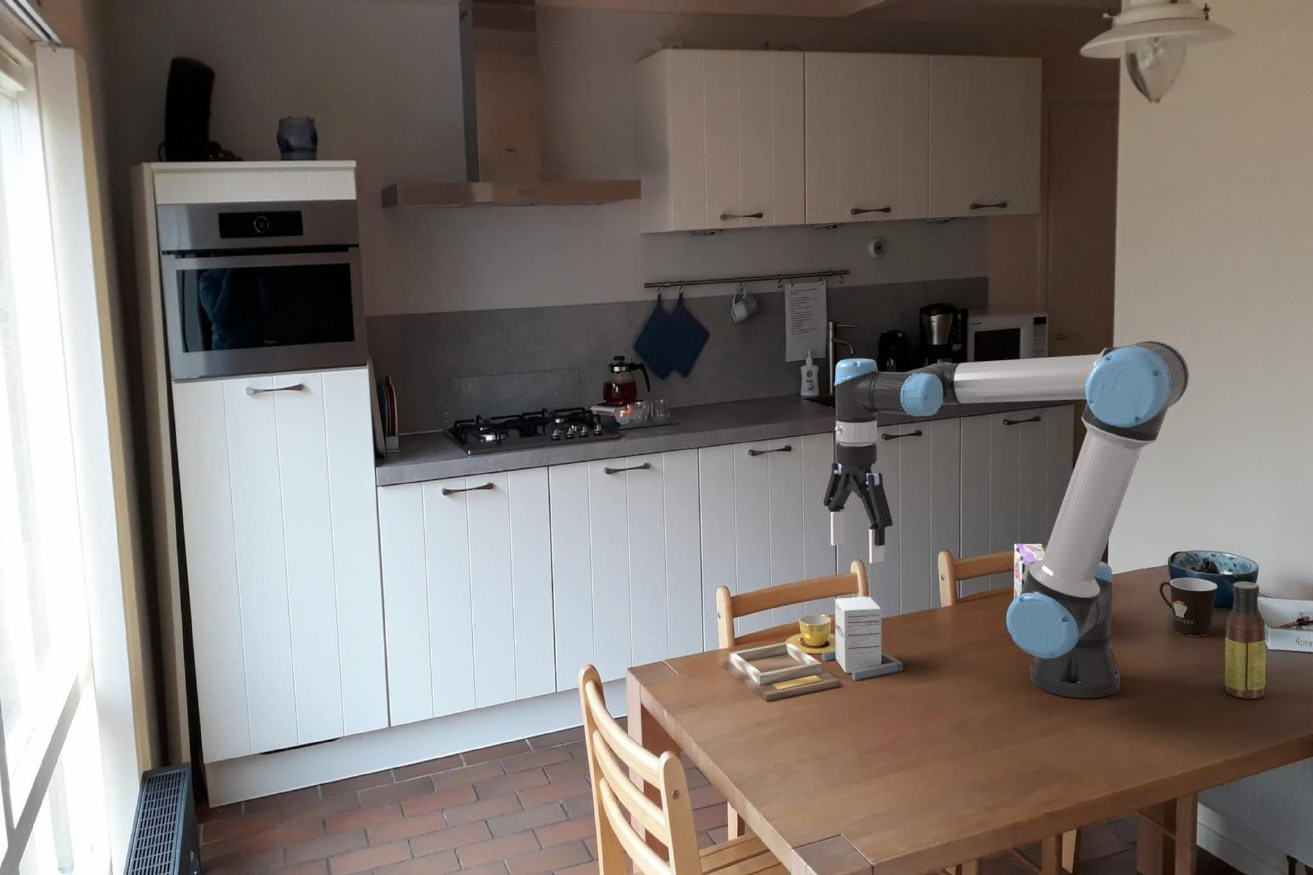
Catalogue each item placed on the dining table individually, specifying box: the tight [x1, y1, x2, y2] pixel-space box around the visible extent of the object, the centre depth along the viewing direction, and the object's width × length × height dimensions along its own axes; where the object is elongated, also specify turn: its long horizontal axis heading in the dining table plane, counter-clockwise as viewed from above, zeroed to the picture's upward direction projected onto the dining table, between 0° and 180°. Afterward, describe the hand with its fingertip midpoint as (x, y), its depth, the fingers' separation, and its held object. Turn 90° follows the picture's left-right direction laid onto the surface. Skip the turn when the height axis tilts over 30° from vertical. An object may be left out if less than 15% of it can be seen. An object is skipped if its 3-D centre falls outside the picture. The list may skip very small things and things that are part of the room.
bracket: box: [821, 649, 904, 681], centre depth 217 cm, size 12×10×2 cm
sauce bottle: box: [1224, 580, 1266, 700], centre depth 196 cm, size 7×6×20 cm
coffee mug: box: [1158, 577, 1218, 636], centre depth 229 cm, size 12×9×10 cm
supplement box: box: [834, 596, 883, 674], centre depth 216 cm, size 7×7×13 cm
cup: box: [785, 613, 836, 654], centre depth 229 cm, size 12×12×5 cm
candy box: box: [1013, 543, 1046, 600], centre depth 232 cm, size 14×6×16 cm, turn 169°
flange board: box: [722, 641, 840, 702], centre depth 213 cm, size 18×15×3 cm
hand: (856, 553), depth 213 cm, fingers open, 13 cm apart
